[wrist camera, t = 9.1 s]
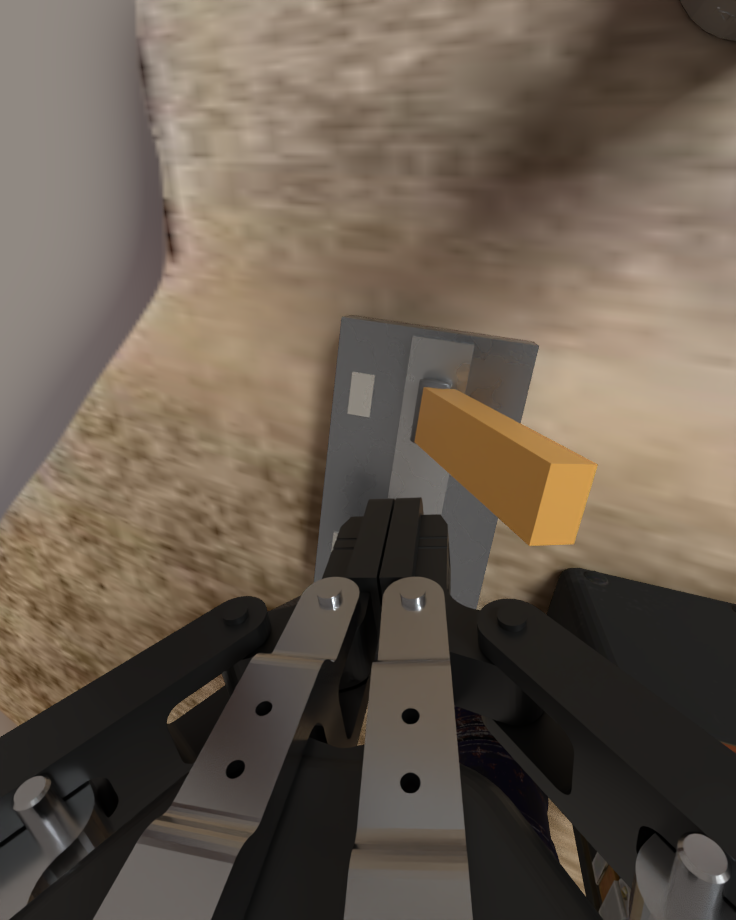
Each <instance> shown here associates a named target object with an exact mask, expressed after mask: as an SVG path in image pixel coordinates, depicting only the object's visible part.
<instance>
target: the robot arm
mask: <svg viewBox="0 0 736 920" xmlns="http://www.w3.org/2000/svg"><path fill="white" fill-rule="evenodd" d="M680 1H681V4H682V5H683V7H684V9H685V10H686V12H687V13H688V15H689V16H690V18H691V19H692V20H693V21H694V22H695V23H696V24H697V25H699V26H700V27H701V28H702V29H703V30H704V31H706V32H708V33H711V34H713V35H715V36H717V37H719V38H722V39H728V40H733V41H736V0H680ZM450 592H451V565H450V550H449V535H448V524H447V523H446V521H445V520H444V519H443V517H442V516H441V514H431V515H424V512H423V502H422V498H421V497H417V498H396V499H394V498H389V499H369V500H368V503H367V507H366V510H365V513H364V516H357V517H350V518H349V519H348V520H347V521H346V522H345V523H344V524H343V525H342V526H341V527H340V530H339V533H338V536H337V540H336V541H335V544H334V546H333V550H332V552H331V555H330V557H329V560H328V563H327V566H326V568H325V571H324V574H323V577H322V579H321V580H318V581H316V582H314V583H313V584H311V585H310V586H309V587H307V588H306V590H305V591H304V592H303V594H302V596H301V598H300V600H299V602H298V603H297V604H296V605H293V606H289V607H285V608H281V609H277V610H272V611H268V612H267V608H266V605H265V603H264V602H263V601H262V600H260V599H259V598H256V597H251V596H244V597H237V598H234V599H231V600H228V601H226V602H224V603H222V604H221V605H219V606H217V607H216V608H214V609H212V610H211V611H209V612H207V613H206V614H204V615H202V616H201V617H199V618H197V619H196V620H194V621H192V622H191V623H189V624H187V625H186V626H184V627H182V628H181V629H179V630H177V631H176V632H174V633H172V634H171V635H169V636H167V637H166V638H164V639H162V640H161V641H159V642H157V643H156V644H154V645H152V646H151V647H149V648H148V649H146V650H144V651H143V652H141V653H139V654H138V655H136V656H134V657H133V658H131V659H129V660H128V661H126V662H124V663H123V664H121V665H119V666H118V667H116V668H114V669H113V670H111V671H109V672H108V673H106V674H104V675H103V676H101V677H99V678H98V679H96V680H94V681H93V682H91V683H89V684H88V685H86V686H84V687H83V688H81V689H79V690H78V691H76V692H74V693H73V694H71V695H69V696H68V697H66V698H64V699H63V700H61V701H59V702H58V703H56V704H54V705H53V706H51V707H49V708H48V709H46V710H44V711H43V712H41V713H39V714H38V715H36V716H35V717H33V718H31V719H30V720H28V721H26V722H25V723H23V724H21V725H20V726H18V727H16V728H15V729H13V730H11V731H10V732H8V733H6V734H5V735H3V736H1V737H0V920H603V918H602V917H601V916H600V914H599V913H598V912H597V911H596V909H595V908H594V907H593V905H592V904H591V903H590V902H589V900H588V899H587V898H586V896H585V895H584V894H583V893H582V891H581V890H580V889H579V887H578V886H577V885H576V883H575V882H574V881H573V880H572V878H571V877H570V876H569V874H568V873H567V872H566V871H565V869H564V868H563V867H562V865H561V864H560V863H559V862H558V860H557V859H556V858H555V856H554V855H553V854H552V852H551V851H550V850H549V849H548V847H547V846H546V845H545V843H544V842H543V841H542V840H541V838H540V837H539V836H538V834H537V833H536V832H535V830H534V829H533V828H532V827H531V825H530V824H529V823H528V821H527V820H526V819H525V817H524V816H523V815H522V814H521V812H520V811H519V810H518V808H517V807H516V806H515V805H514V803H513V802H512V801H511V800H510V799H509V798H508V797H507V796H506V795H505V794H504V793H503V792H502V791H501V790H500V789H499V787H497V786H496V785H495V784H494V783H492V782H491V781H490V780H489V779H487V778H486V777H484V776H483V775H481V774H480V773H478V772H476V771H475V770H473V769H471V768H469V767H467V766H465V765H463V764H460V763H459V756H458V745H457V733H456V722H455V710H454V705H455V706H457V707H460V708H463V709H466V710H469V711H471V712H474V713H477V714H480V715H481V717H482V720H483V723H484V725H485V727H486V728H487V729H488V731H489V732H490V733H491V734H492V735H493V736H494V737H495V738H496V740H497V741H498V742H499V743H500V744H501V745H502V746H503V747H504V748H505V750H506V751H507V752H508V753H509V754H510V755H511V756H512V757H513V758H514V760H515V761H516V762H517V763H518V764H519V765H520V766H521V767H522V768H523V770H524V771H525V772H526V773H527V774H528V775H529V776H530V777H531V778H532V780H533V781H534V782H535V783H536V784H537V785H538V786H539V787H540V788H541V790H542V791H543V792H544V793H545V794H546V795H547V796H548V797H549V798H550V800H551V801H552V802H553V803H554V804H555V805H556V806H557V807H558V808H559V810H560V811H561V812H562V813H563V814H564V815H565V816H566V817H567V819H568V820H569V821H570V822H571V823H572V824H573V825H574V826H575V827H576V829H577V830H578V831H579V832H580V833H581V834H582V835H583V836H584V837H585V839H586V840H587V841H588V842H589V843H590V844H591V845H592V846H593V847H594V849H595V850H596V851H597V852H598V853H599V854H600V855H601V856H602V857H603V859H604V860H605V861H606V862H607V863H608V864H609V865H610V866H611V867H612V869H613V870H614V871H615V872H616V873H617V874H618V875H619V876H620V877H621V879H622V880H623V881H624V882H625V883H626V884H627V885H628V886H629V887H630V889H631V892H630V898H629V919H630V920H736V753H735V752H733V751H732V750H731V749H729V748H728V747H727V746H725V745H724V744H723V743H721V742H720V741H718V740H717V739H716V738H714V737H713V736H712V735H710V734H709V733H707V732H706V731H705V730H703V729H702V728H701V727H699V726H698V725H697V724H695V723H694V722H692V721H691V720H690V719H688V718H687V717H686V716H684V715H683V714H682V713H680V712H679V711H677V710H676V709H675V708H673V707H672V706H671V705H669V704H668V703H666V702H665V701H664V700H662V699H661V698H660V697H658V696H657V695H656V694H654V693H653V692H651V691H650V690H649V689H647V688H646V687H645V686H643V685H642V684H640V683H639V682H638V681H636V680H635V679H634V678H632V677H631V676H630V675H628V674H627V673H625V672H624V671H623V670H621V669H620V668H619V667H617V666H616V665H614V664H613V663H612V662H610V661H609V660H608V659H606V658H605V657H604V656H602V655H601V654H599V653H598V652H597V651H595V650H594V649H593V648H591V647H590V646H588V645H587V644H586V643H584V642H583V641H582V640H580V639H579V638H578V637H576V636H575V635H573V634H572V633H571V632H569V631H568V630H567V629H565V628H564V627H562V626H561V625H560V624H558V623H557V622H556V621H554V620H553V619H552V618H550V617H549V616H547V615H546V614H545V613H543V612H542V611H541V610H539V609H538V608H536V607H535V606H533V605H532V604H529V603H527V602H524V601H521V600H516V599H500V600H496V601H493V602H490V603H488V604H487V605H485V606H484V607H483V608H482V609H481V610H476V609H472V608H469V607H466V606H464V605H462V604H460V603H459V602H457V601H456V600H455V599H453V598H452V596H451V594H450ZM375 654H378V660H375ZM220 674H222V676H223V679H224V682H225V684H226V685H225V686H223V687H222V688H221V689H219V690H218V691H216V692H215V693H214V694H212V695H211V696H209V697H208V698H207V699H205V700H204V701H202V702H201V703H200V704H198V705H197V706H195V707H194V708H193V709H191V710H190V711H188V712H187V713H185V714H184V715H183V716H181V717H180V718H178V719H177V720H176V721H174V722H172V723H170V724H167V718H168V716H169V714H170V712H171V710H172V709H173V708H174V707H175V706H176V705H177V704H178V703H180V702H181V701H183V700H184V699H185V698H187V697H188V696H190V695H191V694H193V693H194V692H196V691H197V690H198V689H200V688H201V687H203V686H204V685H206V684H207V683H209V682H210V681H211V680H213V679H214V678H216V677H217V676H219V675H220ZM368 701H369V702H368ZM367 705H368V713H367V724H366V735H365V745H360V746H357V743H358V739H359V736H360V732H361V728H362V724H363V720H364V717H365V713H366V709H367Z"/></svg>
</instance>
